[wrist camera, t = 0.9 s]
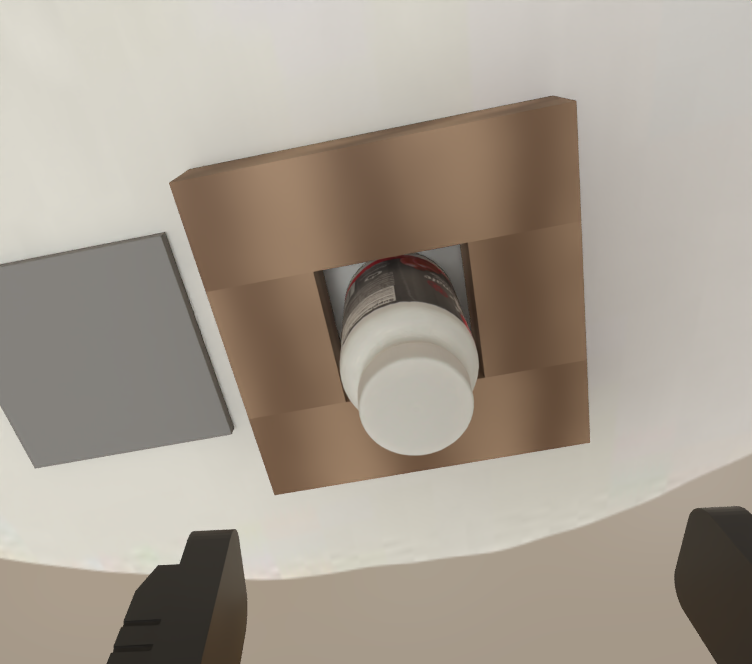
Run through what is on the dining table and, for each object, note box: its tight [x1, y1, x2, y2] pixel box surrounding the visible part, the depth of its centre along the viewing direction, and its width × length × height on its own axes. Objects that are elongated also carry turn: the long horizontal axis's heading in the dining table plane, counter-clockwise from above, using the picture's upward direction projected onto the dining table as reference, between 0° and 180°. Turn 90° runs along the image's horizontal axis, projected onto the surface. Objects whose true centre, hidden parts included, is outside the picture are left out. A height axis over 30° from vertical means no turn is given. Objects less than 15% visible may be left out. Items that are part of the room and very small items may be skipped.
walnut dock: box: [169, 96, 590, 495], centre depth 27 cm, size 16×16×3 cm
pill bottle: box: [340, 253, 479, 455], centre depth 24 cm, size 5×5×10 cm
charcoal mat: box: [0, 232, 234, 468], centre depth 29 cm, size 11×11×1 cm
